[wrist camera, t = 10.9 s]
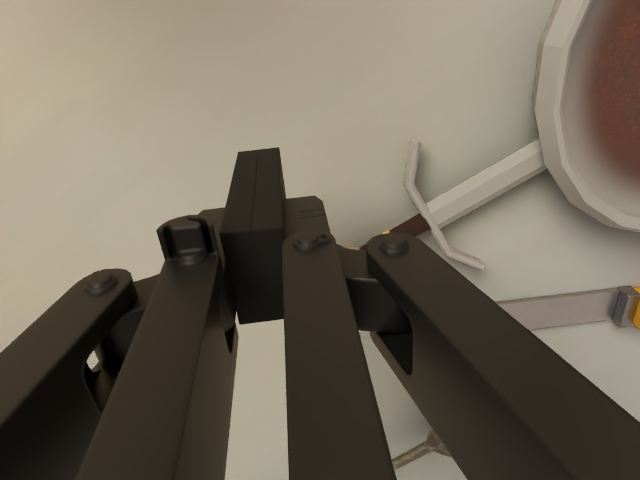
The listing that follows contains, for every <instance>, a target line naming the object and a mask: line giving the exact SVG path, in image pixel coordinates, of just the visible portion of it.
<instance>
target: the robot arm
mask: <svg viewBox="0 0 640 480" xmlns="http://www.w3.org/2000/svg"><path fill="white" fill-rule="evenodd" d="M156 231H157V234H158V238H159V241H160V244H161V248H162V251H163V254H164V258H165V262H164V265H163V267H162V270H161V272H160V274H158V275H155V276H152V277H149V278H146V279H142V280H139V281H136V282H133V279H132V276H131V273H130V272H128V271H127V270H124V269H117V268H116V269H104V270H101V271H97V272H94V273H92V274H91V275H89V276H87V277H85V278H83V279H82V280H80V281H79V282H77V283H76V284H75V285H74V286H73V287H72V288H70V289H69V290H68V291H67V292H66V293H65V294H64V295H63V296H62V297H61V298H60V299H59V300H57V301H56V302H55V303H54V304H53V305H52V306H51V307H50V308H49V309H48V310H47V311H46V312H44V313H43V314H42V315H41V316H40V317H39V318H38V319H37V320H36V321H35V322H34V323H33V324H31V325H30V326H29V327H28V328H27V329H26V330H25V331H24V332H23V333H22V334H21V335H20V336H18V337H17V338H16V339H15V340H14V341H13V342H12V343H11V344H10V345H9V346H8V347H7V348H5V349H4V350H3V351H2V352H1V353H0V480H224V479H225V469H226V459H227V449H228V439H229V428H230V418H231V408H232V398H233V388H234V378H235V368H236V357H237V347H238V332H237V328H236V323H235V317H236V311H237V315H238V320H239V324H248V323H256V322H263V321H271V320H279V319H284V331H285V364H286V396H287V429H288V461H289V480H397V479H396V475H395V471H394V468H393V464H392V460H391V456H390V452H389V448H388V444H387V440H386V436H385V432H384V428H383V425H382V421H381V417H380V413H379V409H378V405H377V401H376V397H375V393H374V389H373V385H372V382H371V378H370V374H369V370H368V366H367V362H366V358H365V354H364V350H363V346H362V342H361V339H360V335H359V331H358V330H362V331H370V336H371V338H372V341H373V342H374V344H375V345H376V347H377V348H378V350H379V351H380V352H381V354H382V355H383V357H384V358H385V360H386V361H387V363H388V364H389V366H390V367H391V369H392V370H393V371H394V373H395V374H396V376H397V377H398V379H399V380H400V382H401V383H402V385H403V386H404V387H405V389H406V390H407V392H408V393H409V395H410V396H411V398H412V399H413V401H414V402H415V404H416V405H417V406H418V408H419V409H420V411H421V412H422V414H423V415H424V417H425V418H426V420H427V421H428V423H429V424H430V425H431V427H432V428H433V430H434V431H435V433H436V434H437V436H438V437H439V439H440V440H441V441H442V443H443V444H444V446H445V447H446V449H447V450H448V452H449V453H450V455H451V456H452V458H453V459H454V460H455V462H456V463H457V465H458V466H459V468H460V469H461V471H462V472H463V474H464V475H465V476H466V478H467V479H468V480H640V422H639V421H637V420H636V419H635V418H634V417H633V416H631V415H630V414H629V413H628V412H627V411H625V410H624V409H623V408H622V407H621V406H619V405H618V404H617V403H616V402H615V401H613V400H612V399H611V398H610V397H608V396H607V395H606V394H605V393H604V392H602V391H601V390H600V389H599V388H598V387H596V386H595V385H594V384H593V383H592V382H590V381H589V380H588V379H587V378H586V377H584V376H583V375H582V374H581V373H580V372H578V371H577V370H576V369H575V368H574V367H572V366H571V365H570V364H569V363H568V362H566V361H565V360H564V359H563V358H562V357H560V356H559V355H558V354H557V353H556V352H554V351H553V350H552V349H551V348H550V347H548V346H547V345H546V344H545V343H543V342H542V341H541V340H540V339H539V338H537V337H536V336H535V335H534V334H533V333H531V332H530V331H529V330H528V329H527V328H525V327H524V326H523V325H522V324H521V323H519V322H518V321H517V320H516V319H515V318H513V317H512V316H511V315H510V314H509V313H507V312H506V311H505V310H504V309H503V308H501V307H500V306H499V305H498V304H497V303H495V302H494V301H493V300H492V299H491V298H489V297H488V296H487V295H486V294H485V293H483V292H482V291H481V290H480V289H478V288H477V287H476V286H475V285H474V284H472V283H471V282H470V281H469V280H468V279H466V278H465V277H464V276H463V275H462V274H460V273H459V272H458V271H457V270H456V269H454V268H453V267H452V266H451V265H450V264H448V263H447V262H446V261H445V260H444V259H442V258H441V257H440V256H439V255H438V254H436V253H435V252H434V251H433V250H432V249H430V248H429V247H428V246H427V245H426V244H424V243H423V242H422V241H421V240H420V239H418V238H416V237H414V236H412V235H409V234H405V233H402V232H396V233H395V232H389V233H385V234H380V235H378V236H375V237H373V238H372V239H370V240H369V241H368V242H367V245H366V250H356V249H349V248H345V247H342V246H340V245H338V244H336V241H335V238H334V237H333V235H332V234H331V233H330V229H329V225H328V221H327V217H326V213H325V209H324V205H323V201H322V200H320V199H319V198H317V197H316V196H307V197H299V198H290V199H286V194H285V187H284V180H283V172H282V165H281V158H280V151H279V147H278V148H270V149H261V150H252V151H244V152H238V156H237V160H236V164H235V168H234V173H233V177H232V181H231V186H230V190H229V194H228V199H227V203H226V207H225V208H217V209H209V210H203V211H201V212H200V213H199V214H198V215H188V216H183V217H178V218H175V219H172V220H170V221H168V222H166V223H164V224H162V225H161V226H160V227H159V228H158V229H157V230H156ZM93 350H94V351H95V354H96V356H97V358H98V360H99V362H98V363H97V365H96V366H95V367H94V368H93V369H92V370H91V369H90V368H89V366H88V364H87V362H86V361H87V359H88V357H89V356H90V354H91V353H92V352H93Z"/></svg>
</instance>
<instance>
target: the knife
mask: <svg viewBox="0 0 640 480" xmlns="http://www.w3.org/2000/svg"><path fill="white" fill-rule="evenodd" d="M495 303H497V304H498V305H499V306H500V307H501V308H503V309H504V310H505V311H506V312H507V313H509V314H510V315H511V316H512V317H513V318H515V319H516V320H517V321H518V322H519V323H521V324H522V325H523V326H524V327H525V328H527V329H528V330H529V329H538V328H546V327H554V326H563V325H571V324H580V323H588V322H596V321H605V320H612V321H613V322H614V323H615V324H616V325H617V326H618V327H620V328H621V327H629V326H632V323H633V324H634V325H635V326H636V327H637V328H638V329H639V330H640V287H635V288H633V287H631V286H622V287H618V289H617V288H613V289H605V290H596V291H588V292H579V293H571V294H562V295H554V296H545V297H537V298H528V299H520V300H511V301H503V302H495Z"/></svg>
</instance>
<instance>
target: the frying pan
mask: <svg viewBox="0 0 640 480" xmlns="http://www.w3.org/2000/svg"><path fill="white" fill-rule="evenodd" d="M533 103H534V108H535V116H536V121H537V126H538V132H539V137H540V138H538V139H537V140H535V141H533V142H532V143H530V144H528V145H526V146H525V147H523V148H521V149H519V150H518V151H516V152H514V153H513V154H511V155H509V156H507V157H506V158H504V159H502V160H500V161H499V162H497V163H495V164H493V165H492V166H490V167H488V168H487V169H485V170H483V171H481V172H480V173H478V174H476V175H474V176H473V177H471V178H469V179H468V180H466V181H464V182H462V183H461V184H459V185H457V186H455V187H454V188H452V189H450V190H449V191H447V192H445V193H443V194H442V195H440V196H438V197H436V198H435V199H433V200H431V201H429V202H428V203H426V204H425V202H424V201H423V199H422V197H421V195H420V193H419V192H418V190H417V188H416V186H415V185H414V181H415V175H416V170H417V164H418V158H419V152H420V147H421V143H420V142H419V141H418V140H417V139H416V138H415V137H413V138H412V139H411V141H410V146H409V152H408V158H407V164H406V171H405V177H404V186H405V188H406V190H407V191H408V193H409V195H410V197H411V198H412V200H413V202H414V204H415V205H416V207H417V209H418V210H419V212H420V213H419V214H418V215H416V216H414V217H412V218H411V219H409V220H407V221H405V222H404V223H402V224H400V225H399V226H397V227H395V228H393V229H392V230H388V231H385V232H383V233H381V234H385V233H389V232H395V233H396V232H402V233H405V234H409V235H412V236H414V237H416V236H418V235H420V234H421V233H423V232H425V231H427V230H429V229H430V231H431V233H432V235H433V236H434V238H435V240H436V242H437V243H438V245H439V247H440V248H441V250H442V252H443V253H444V255H445V256H447V257H449V258H452V259H454V260H456V261H459V262H461V263H464V264H466V265H469V266H471V267H474V268H476V269H478V270H484V265H483V263H482V262H481V260H480V259H478V258H475V257H473V256H471V255H468V254H466V253H464V252H461V251H459V250H456V249H454V248H452V247H449V245H448V243H447V241H446V239H445V238H444V236H443V234H442V232H441V231H440V229H441V228H442V227H444V226H446V225H448V224H449V223H451V222H453V221H455V220H457V219H458V218H460V217H462V216H464V215H465V214H467V213H469V212H471V211H473V210H474V209H476V208H478V207H480V206H481V205H483V204H485V203H487V202H489V201H490V200H492V199H494V198H496V197H498V196H499V195H501V194H503V193H505V192H506V191H508V190H510V189H512V188H514V187H515V186H517V185H519V184H521V183H522V182H524V181H526V180H528V179H530V178H531V177H533V176H535V175H537V174H539V173H540V172H542V171H544V170H546V169H548V170H549V172H550V173H551V175H552V176H553V178H554V179H555V181H556V182H557V184H558V186H559V187H560V189H561V190H562V192H563V193H564V195H565V196H566V198H567V199H568V201H569V202H570V203H571V204H572V205H574V206H575V207H577V208H579V209H580V210H582V211H583V212H585V213H587V214H588V215H590V216H591V217H593V218H594V219H596V220H598V221H599V222H601V223H602V224H604V225H606V226H608V227H613V228H619V229H624V230H629V231H634V232H639V233H640V0H557V2H556V4H555V7H554V9H553V12H552V14H551V16H550V19H549V21H548V24H547V26H546V29H545V31H544V33H543V36H542V38H541V41H540V44H539V52H538V60H537V67H536V75H535V83H534V91H533ZM366 245H367V244H365V245H364V246H362V247H360V248H359V247H350V248H349V247H346V248H349V249H356V250H366Z"/></svg>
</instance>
